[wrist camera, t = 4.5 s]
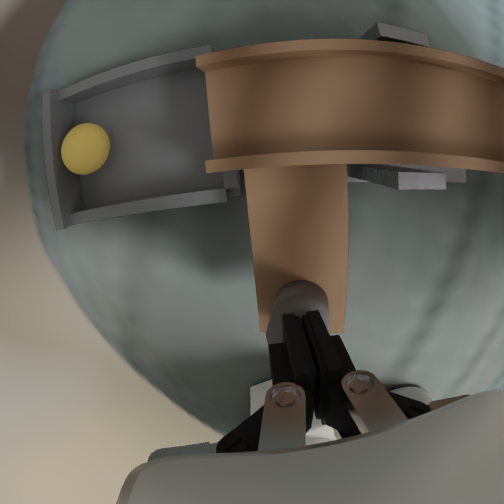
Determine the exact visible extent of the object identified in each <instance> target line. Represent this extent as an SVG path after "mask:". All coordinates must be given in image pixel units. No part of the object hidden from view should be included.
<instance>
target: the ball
mask: <svg viewBox="0 0 504 504" xmlns="http://www.w3.org/2000/svg"><path fill="white" fill-rule="evenodd" d="M109 151H110V141H109V137H108V135H107V133H106V132H105V130H104V129H103V128H102V127H100V126H98V125H96V124H93V123H83V124H80V125H78V126H76V127H74V128H73V129H72V130H70V131H69V133H68V134H67V135H66V137H65V138H64V141H63V143H62V147H61V156H62V160H63V162H64V164H65V166H66V167H67V168H68V169H69V170H70V171H71V172H73V173H76V174H80V175H86V174H90V173H93V172H95V171H96V170H98V169H99V168H100V167H101V166H102V165H103V164H104V163H105V161H106V160H107V158H108V155H109Z"/></svg>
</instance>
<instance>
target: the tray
mask: <svg viewBox="0 0 504 504" xmlns="http://www.w3.org/2000/svg"><path fill="white" fill-rule="evenodd" d="M212 52H214V51H213V49H212V46H211V45H207V46H200V47H195V48H189V49H184V50H179V51H175V52H170V53H166V54H162V55H157V56H154V57H150V58H146V59H142V60H139V61H136V62H132V63H129V64H126V65H123V66H120V67H117V68H114V69H111V70H108V71H105V72H102V73H100V74H97V75H95V76H92V77H90V78H87V79H85V80H82V81H80V82H77V83H75V84H73V85H71V86H68V87H66V88H64V89H62V90H60V91H55V90H51V89H50V90H48V91H46V92H44V93H42V129H43V146H44V158H45V167H46V176H47V183H48V190H49V196H50V202H51V207H52V213H53V218H54V223H55V227H56V230H61V229H65V228H67V227H69V226H71V225H75V224H80V223H86V222H91V221H97V220H102V219H108V218H114V217H120V216H126V215H132V214H139V213H145V212H152V211H159V210H166V209H173V208H181V207H188V206H196V205H204V204H213V203H222V202H227V201H228V199H229V197H234V196H242V191H241V181H240V172H239V170H231V171H222V172H213V173H206V165H205V161H207V160H214V158H213V149H212V139H211V130H210V120H209V109H208V99H207V88H206V76H205V72H203V71H202V70H200V69H199V68H197V67H196V58H195V57H196V56H200V55H204V54H208V53H212ZM83 123H93V124H96V125H98V126H100V127H102V128H103V129H104V130H105V132H106V133H107V135H108V137H109V141H110V151H109V155H108V158H107V160H106V161H105V163H104V164H103V165H102V166H101V167H100V168H99V169H98V170H96V171H95V172H93V173H90V174H86V175H80V174H76V173H73V172H71V171H70V170H69V169H68V168H67V167H66V166H65V164H64V162H63V160H62V156H61V147H62V143H63V141H64V138H65V137H66V135H67V134H68V133H69V131H70V130H72V129H73V128H74V127H76V126H78V125H80V124H83Z"/></svg>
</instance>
